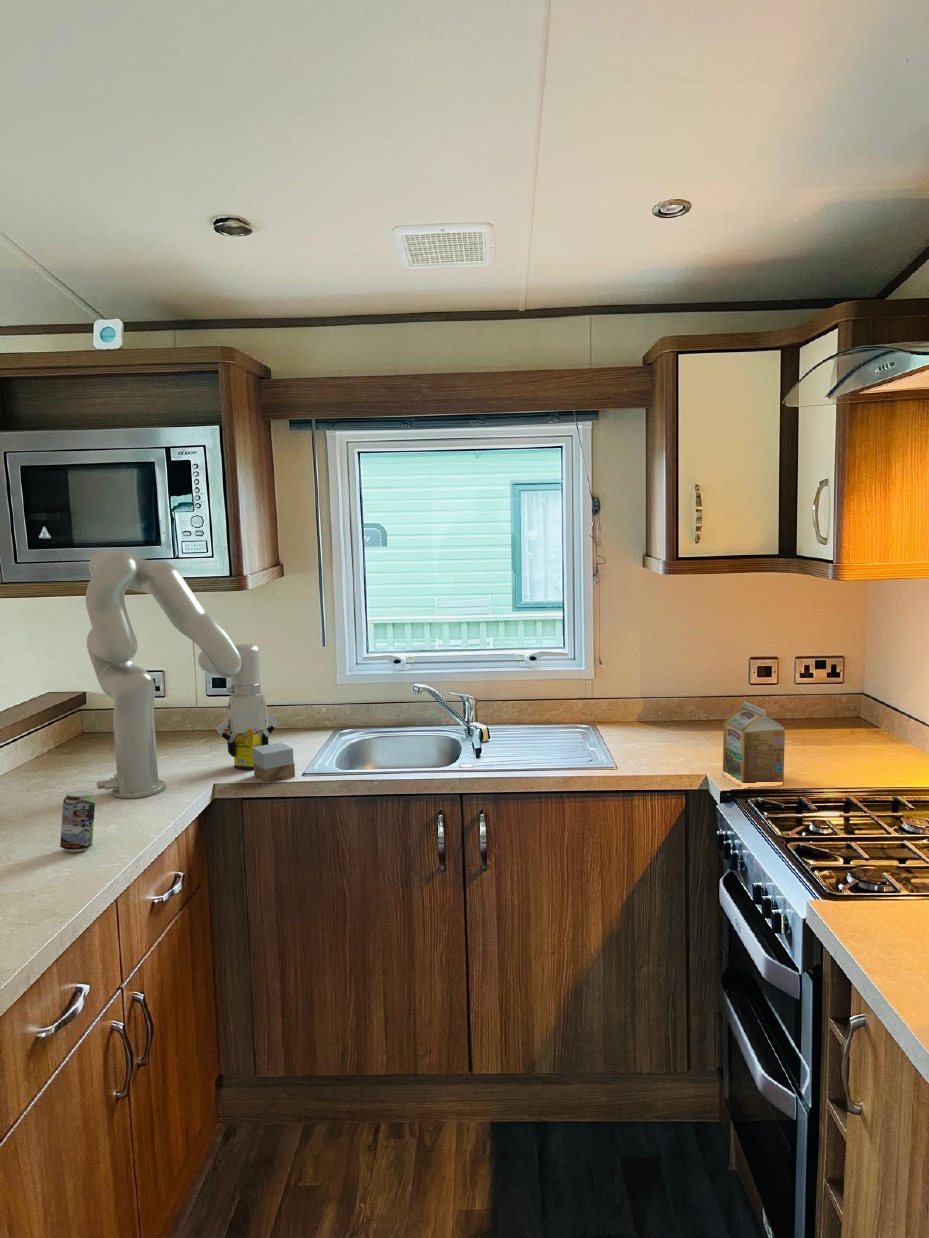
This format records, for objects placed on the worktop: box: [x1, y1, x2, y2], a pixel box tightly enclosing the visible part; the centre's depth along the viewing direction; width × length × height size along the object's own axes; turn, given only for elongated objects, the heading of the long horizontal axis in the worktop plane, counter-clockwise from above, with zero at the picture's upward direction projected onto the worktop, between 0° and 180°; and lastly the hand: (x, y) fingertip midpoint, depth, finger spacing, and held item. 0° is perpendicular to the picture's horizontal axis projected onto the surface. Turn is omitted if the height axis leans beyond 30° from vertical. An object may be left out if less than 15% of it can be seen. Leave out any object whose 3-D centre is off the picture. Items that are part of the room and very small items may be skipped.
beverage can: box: [59, 790, 96, 853], centre depth 174 cm, size 6×7×12 cm
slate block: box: [252, 741, 295, 769], centre depth 221 cm, size 8×8×4 cm
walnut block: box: [253, 763, 296, 784], centre depth 221 cm, size 8×8×4 cm
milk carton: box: [722, 701, 786, 783], centre depth 210 cm, size 10×11×19 cm
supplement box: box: [233, 729, 263, 770], centre depth 230 cm, size 6×6×11 cm
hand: (248, 752), depth 230 cm, fingers closed on supplement box, 8 cm apart
